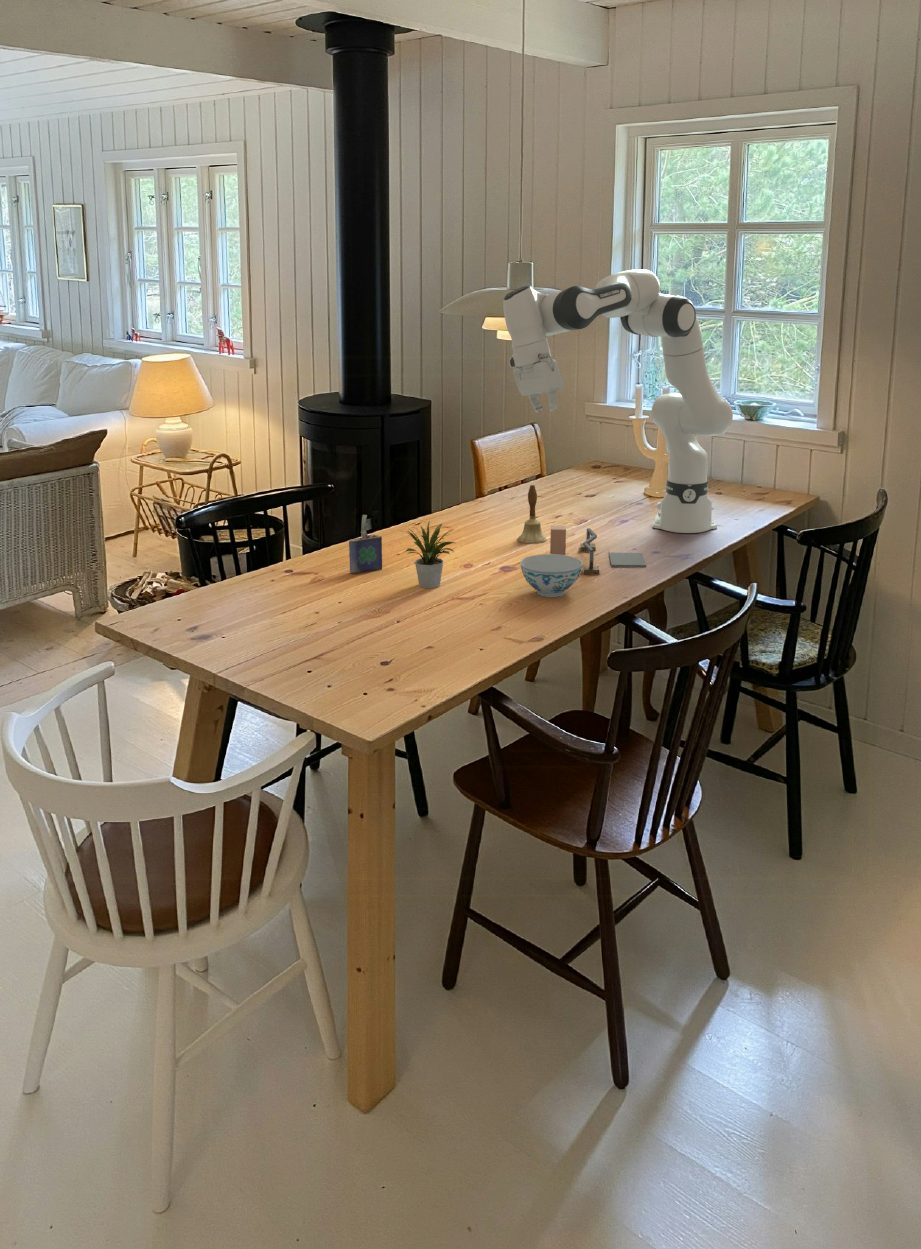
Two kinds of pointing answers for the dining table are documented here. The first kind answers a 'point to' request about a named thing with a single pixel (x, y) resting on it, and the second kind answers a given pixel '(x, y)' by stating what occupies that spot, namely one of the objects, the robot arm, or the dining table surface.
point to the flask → (365, 553)
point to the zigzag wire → (591, 548)
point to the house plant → (429, 557)
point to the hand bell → (532, 522)
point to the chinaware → (551, 573)
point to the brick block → (558, 540)
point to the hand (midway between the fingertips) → (546, 411)
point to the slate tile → (627, 559)
